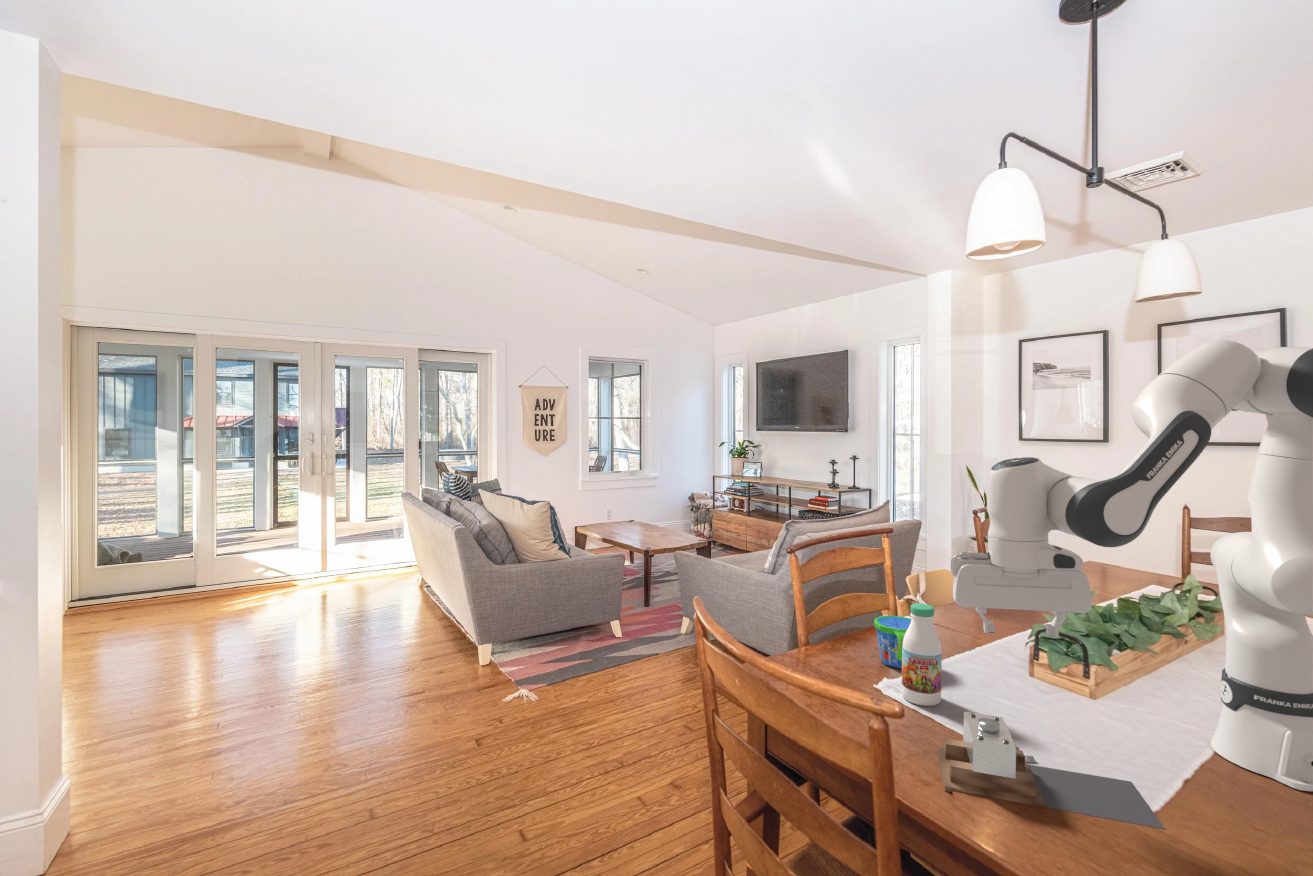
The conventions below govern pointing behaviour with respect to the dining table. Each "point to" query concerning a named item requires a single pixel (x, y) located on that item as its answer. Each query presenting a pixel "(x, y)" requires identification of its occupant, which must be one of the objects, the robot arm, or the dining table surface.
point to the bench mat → (1093, 796)
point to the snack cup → (891, 638)
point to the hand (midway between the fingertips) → (1020, 634)
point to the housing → (989, 745)
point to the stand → (986, 777)
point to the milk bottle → (921, 658)
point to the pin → (1029, 759)
